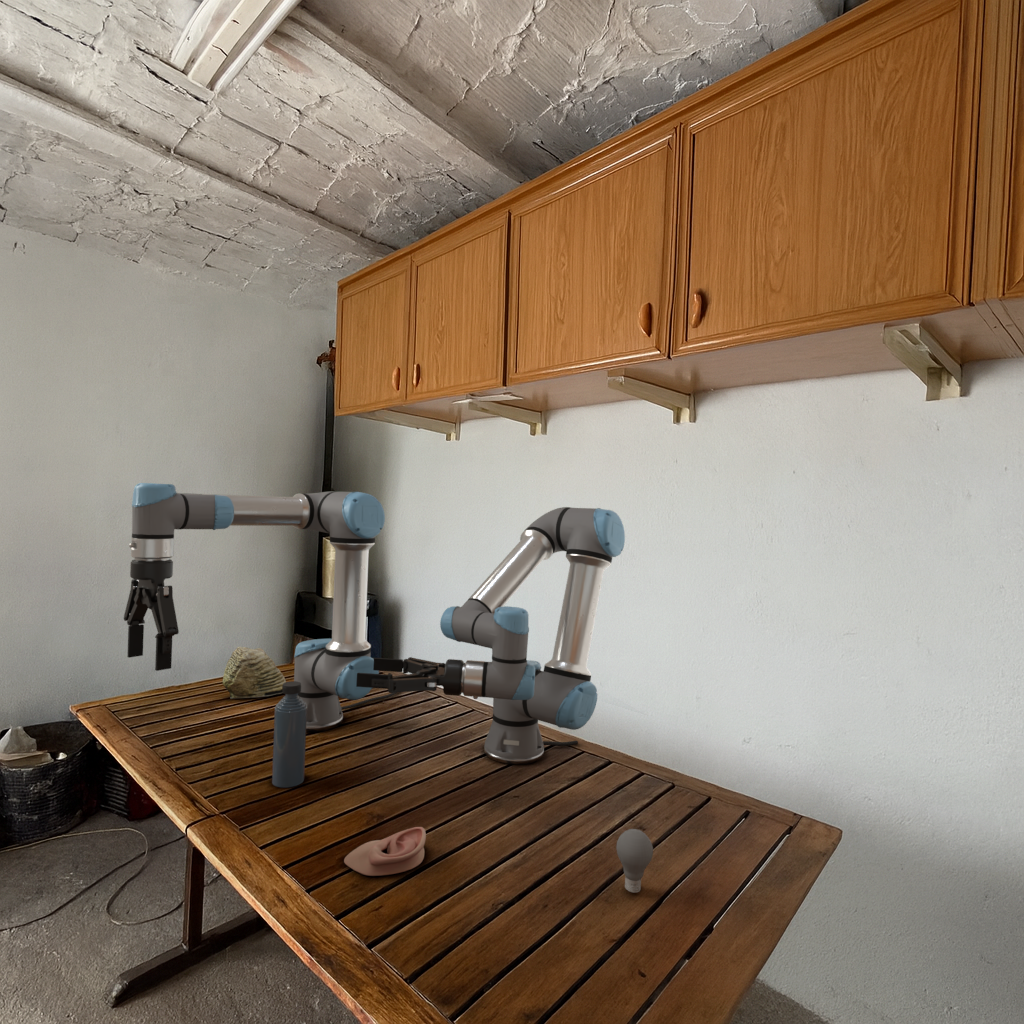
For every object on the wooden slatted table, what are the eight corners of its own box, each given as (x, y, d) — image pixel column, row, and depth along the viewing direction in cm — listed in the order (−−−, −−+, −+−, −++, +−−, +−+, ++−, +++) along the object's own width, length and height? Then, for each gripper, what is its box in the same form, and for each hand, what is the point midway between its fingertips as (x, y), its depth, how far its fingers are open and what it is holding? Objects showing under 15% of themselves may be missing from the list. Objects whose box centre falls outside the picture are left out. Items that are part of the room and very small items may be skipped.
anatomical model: (336, 847, 108) (365, 815, 119) (335, 870, 108) (364, 836, 119) (410, 859, 105) (432, 825, 116) (409, 883, 105) (431, 846, 116)
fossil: (218, 695, 195) (220, 647, 195) (278, 685, 208) (279, 640, 207) (228, 703, 189) (230, 653, 188) (289, 692, 201) (290, 645, 201)
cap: (292, 688, 143) (292, 680, 143) (304, 691, 141) (305, 683, 141) (278, 692, 139) (278, 684, 139) (290, 695, 137) (290, 687, 137)
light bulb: (610, 879, 108) (613, 822, 108) (644, 879, 109) (647, 822, 109) (619, 902, 102) (622, 840, 102) (655, 901, 103) (658, 840, 103)
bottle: (290, 771, 145) (293, 679, 145) (310, 779, 142) (314, 684, 141) (265, 782, 139) (268, 686, 139) (286, 790, 136) (289, 692, 136)
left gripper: (108, 554, 134) (104, 654, 134) (159, 565, 118) (155, 678, 119) (146, 552, 140) (143, 648, 140) (199, 563, 124) (195, 671, 124)
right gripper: (454, 713, 124) (347, 706, 125) (468, 680, 149) (379, 674, 150) (457, 675, 124) (350, 668, 125) (470, 648, 149) (381, 642, 150)
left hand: (148, 662), depth 129 cm, fingers open, 13 cm apart
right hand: (365, 671), depth 137 cm, fingers open, 13 cm apart
